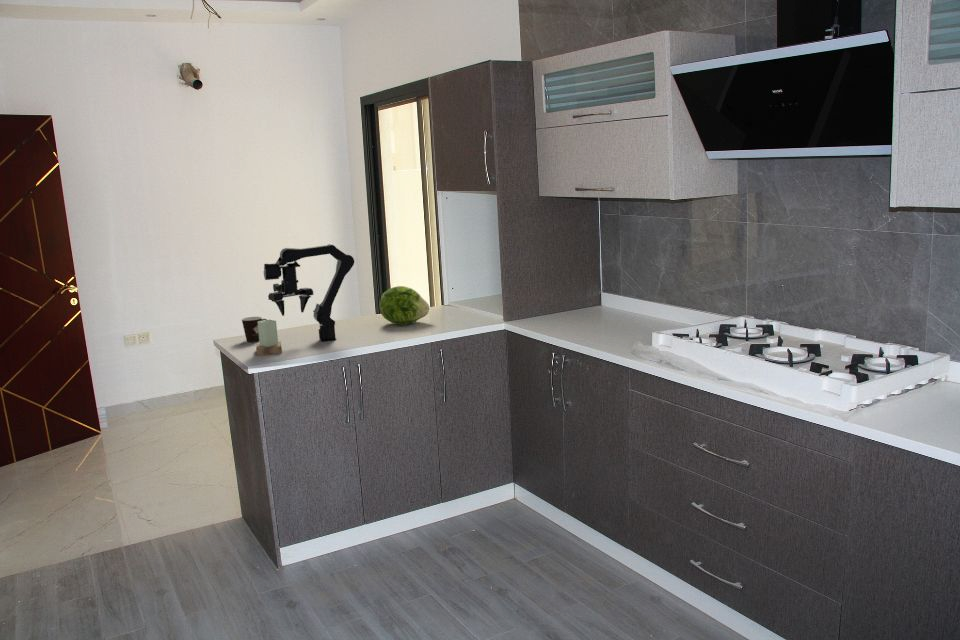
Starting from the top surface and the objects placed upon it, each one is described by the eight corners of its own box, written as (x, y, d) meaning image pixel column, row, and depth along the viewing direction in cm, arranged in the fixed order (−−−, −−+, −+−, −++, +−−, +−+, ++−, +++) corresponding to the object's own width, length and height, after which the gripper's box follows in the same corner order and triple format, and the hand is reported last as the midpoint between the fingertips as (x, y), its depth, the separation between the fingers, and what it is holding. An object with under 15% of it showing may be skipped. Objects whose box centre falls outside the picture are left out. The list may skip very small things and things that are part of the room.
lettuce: (424, 329, 364) (428, 289, 363) (374, 323, 366) (378, 284, 365) (431, 326, 383) (435, 288, 382) (383, 321, 385) (387, 283, 384)
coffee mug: (245, 343, 349) (243, 321, 347) (242, 340, 356) (240, 318, 354) (272, 340, 353) (270, 318, 351) (269, 336, 361) (267, 315, 359)
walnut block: (281, 349, 336) (280, 341, 336) (282, 354, 327) (281, 346, 326) (257, 351, 334) (256, 343, 333) (257, 357, 324) (256, 348, 324)
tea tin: (271, 342, 334) (269, 319, 332) (278, 344, 330) (276, 320, 328) (259, 345, 330) (257, 321, 328) (266, 347, 326) (263, 323, 324)
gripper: (299, 273, 350) (302, 308, 353) (260, 279, 338) (263, 315, 341) (312, 275, 342) (315, 311, 345) (273, 281, 330) (276, 318, 333)
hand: (292, 314), depth 341 cm, fingers open, 9 cm apart
